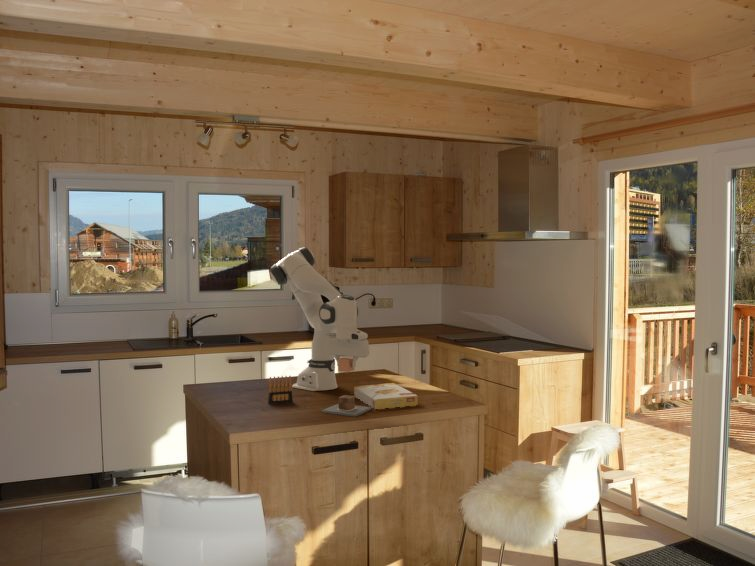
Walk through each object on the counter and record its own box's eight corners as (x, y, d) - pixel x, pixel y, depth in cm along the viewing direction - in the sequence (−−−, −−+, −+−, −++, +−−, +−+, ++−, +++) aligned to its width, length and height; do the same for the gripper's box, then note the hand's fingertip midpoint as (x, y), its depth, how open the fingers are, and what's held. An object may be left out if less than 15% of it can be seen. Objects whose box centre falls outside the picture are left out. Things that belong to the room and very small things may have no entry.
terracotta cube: (338, 371, 285) (338, 359, 284) (344, 369, 289) (344, 357, 289) (348, 372, 282) (348, 360, 282) (354, 370, 287) (354, 358, 287)
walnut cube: (338, 409, 286) (338, 397, 285) (344, 406, 290) (344, 395, 290) (349, 410, 283) (349, 398, 283) (354, 407, 288) (354, 396, 287)
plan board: (322, 412, 284) (322, 409, 284) (338, 405, 297) (338, 403, 297) (355, 416, 277) (355, 414, 277) (371, 409, 289) (371, 407, 289)
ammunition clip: (291, 401, 305) (291, 374, 304) (292, 402, 303) (292, 375, 303) (268, 403, 301) (267, 376, 300) (268, 404, 299) (268, 377, 299)
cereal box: (393, 381, 322) (418, 393, 296) (393, 393, 322) (418, 406, 296) (353, 385, 315) (375, 398, 289) (353, 397, 315) (375, 411, 289)
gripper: (321, 333, 287) (321, 365, 288) (363, 336, 278) (363, 369, 278) (329, 331, 293) (329, 363, 293) (371, 334, 283) (371, 367, 284)
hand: (346, 366), depth 286 cm, fingers closed on terracotta cube, 5 cm apart
